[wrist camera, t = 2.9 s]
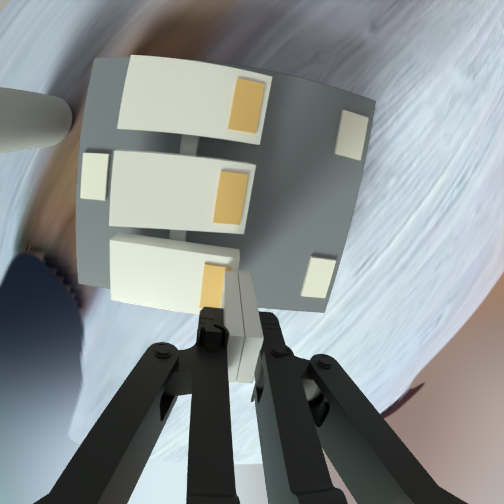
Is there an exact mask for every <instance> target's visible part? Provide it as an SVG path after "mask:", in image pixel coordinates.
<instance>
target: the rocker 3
mask: <svg viewBox="0 0 504 504" xmlns="http://www.w3.org/2000/svg"><path fill="white" fill-rule="evenodd" d="M239 261H240V251H239V249H234V248H227V247H220V246H213V245H206V244H199V243H192V242H184V241H177V240H170V239H163V238H156V237H149V236H142V235H135V234H128V233H121V232H118V233H117V234H116V235H115V236H114V237H113V238H111V239H110V287H111V300H114V301H119V302H125V303H130V304H135V305H141V306H147V307H153V308H159V309H165V310H171V311H177V312H184V313H191V314H197V315H200V311H201V310H202V309H203V308H204V306H205V307H214V308H220V301H221V294H222V286H223V279H224V272H225V270H228V271H231V270H236V271H237V272H238V267H239Z"/></svg>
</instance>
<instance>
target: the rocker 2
mask: <svg viewBox="0 0 504 504" xmlns="http://www.w3.org/2000/svg"><path fill="white" fill-rule="evenodd" d="M255 169H256V165H254V164H251V163H248V162H242V161H235V160H228V159H220V158H212V157H204V156H195V155H186V154H176V153H165V152H153V151H139V150H122V149H117V150H115V151H114V157H113V167H112V179H111V193H110V211H109V226H118V227H137V228H155V229H172V230H188V231H204V232H219V233H234V234H244V231H245V225H246V220H247V214H248V208H249V202H250V197H251V191H252V185H253V180H254V174H255Z"/></svg>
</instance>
